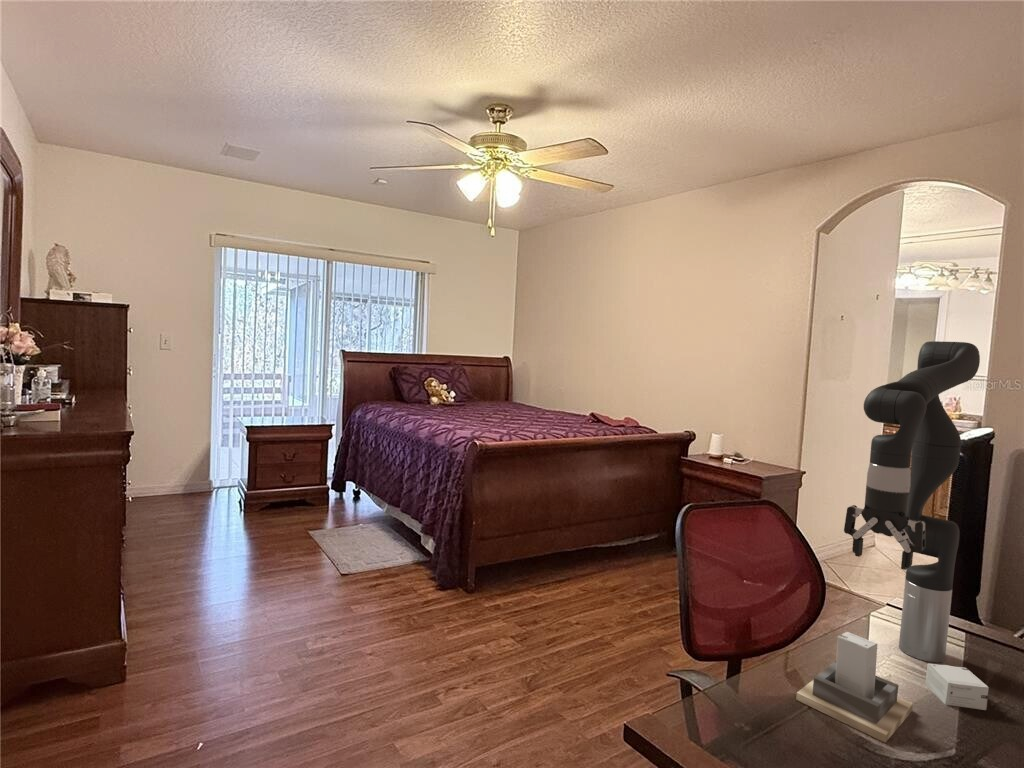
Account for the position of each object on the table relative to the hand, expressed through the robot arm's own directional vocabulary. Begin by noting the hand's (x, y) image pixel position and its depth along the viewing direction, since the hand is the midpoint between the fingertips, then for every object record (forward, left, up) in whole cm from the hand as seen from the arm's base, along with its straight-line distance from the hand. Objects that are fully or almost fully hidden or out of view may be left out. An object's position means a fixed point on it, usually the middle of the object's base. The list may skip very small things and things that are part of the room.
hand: (881, 562), depth 121 cm
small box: (-13, +12, -28) cm, 34 cm away
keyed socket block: (+8, 0, -28) cm, 29 cm away
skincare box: (+8, 0, -27) cm, 28 cm away
